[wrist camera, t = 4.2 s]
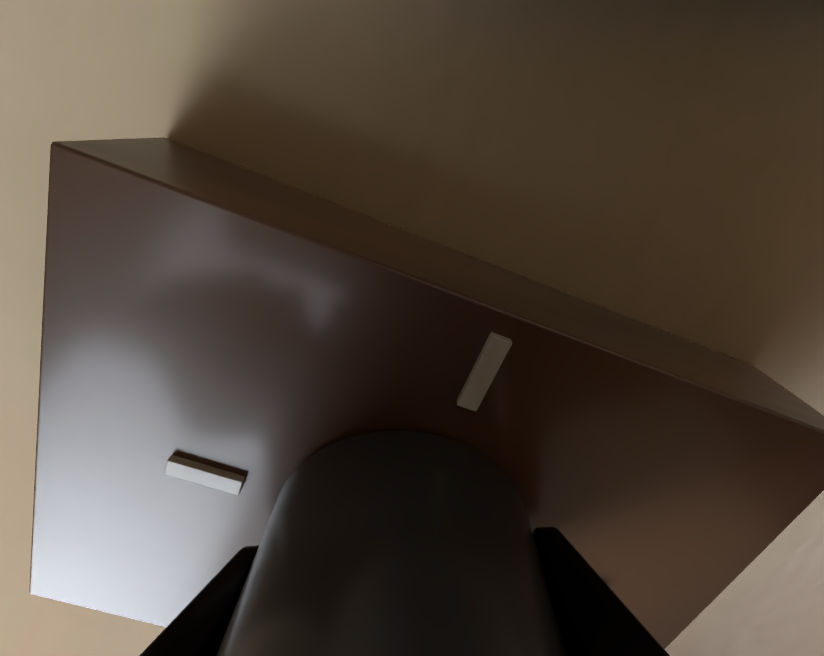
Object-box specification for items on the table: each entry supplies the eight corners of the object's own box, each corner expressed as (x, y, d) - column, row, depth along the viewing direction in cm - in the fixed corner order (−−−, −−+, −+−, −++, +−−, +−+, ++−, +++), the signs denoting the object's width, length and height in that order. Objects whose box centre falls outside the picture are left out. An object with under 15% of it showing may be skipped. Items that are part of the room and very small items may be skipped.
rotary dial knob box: (754, 365, 11) (877, 453, 8) (552, 617, 15) (585, 738, 12) (163, 136, 9) (38, 139, 6) (112, 494, 13) (21, 601, 10)
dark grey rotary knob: (527, 418, 8) (637, 713, 4) (527, 607, 10) (598, 930, 6) (246, 438, 8) (82, 733, 4) (302, 619, 10) (227, 932, 6)
